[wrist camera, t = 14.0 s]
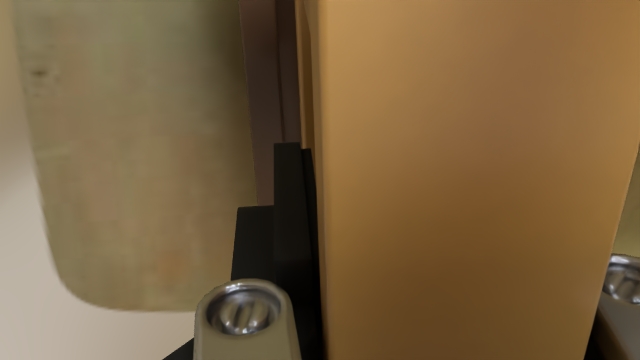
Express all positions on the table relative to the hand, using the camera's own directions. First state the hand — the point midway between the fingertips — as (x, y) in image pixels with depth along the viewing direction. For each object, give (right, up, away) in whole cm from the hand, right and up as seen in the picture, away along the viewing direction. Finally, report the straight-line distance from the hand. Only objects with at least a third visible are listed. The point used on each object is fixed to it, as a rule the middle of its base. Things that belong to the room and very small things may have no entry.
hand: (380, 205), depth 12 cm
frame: (0, +2, +3) cm, 4 cm away
